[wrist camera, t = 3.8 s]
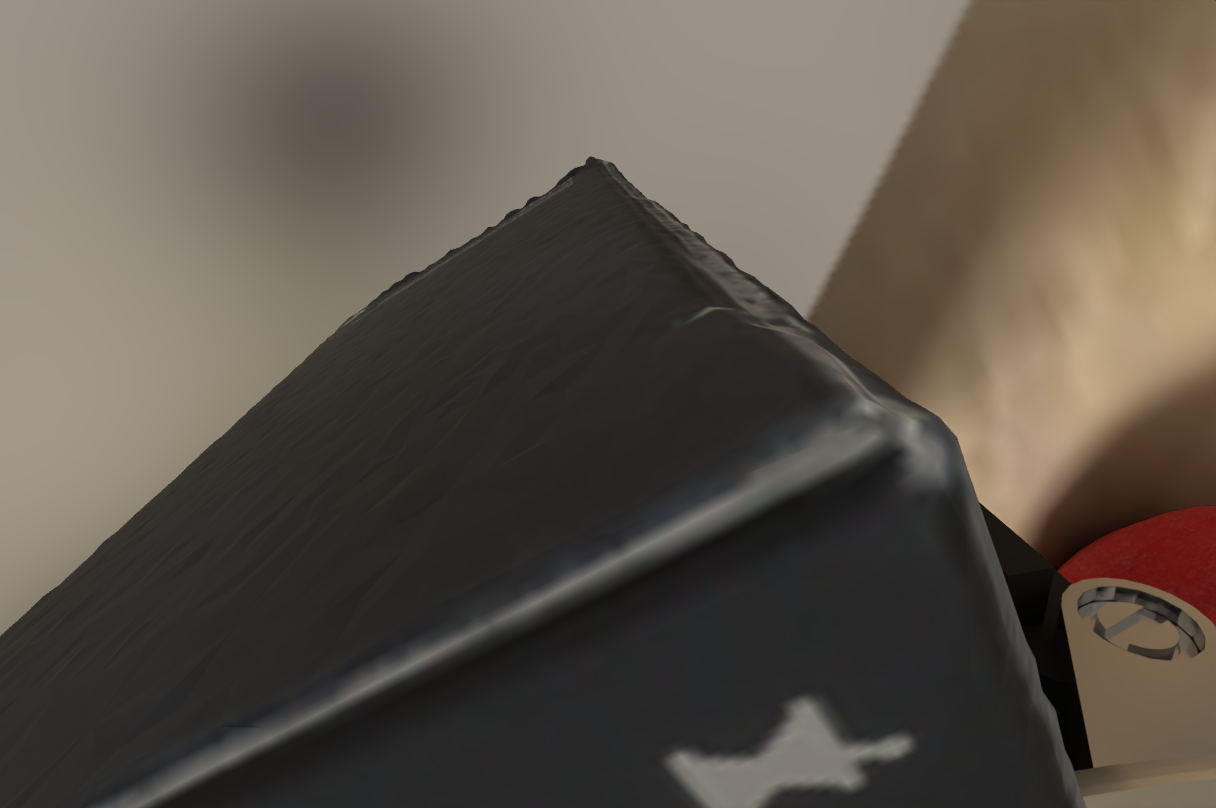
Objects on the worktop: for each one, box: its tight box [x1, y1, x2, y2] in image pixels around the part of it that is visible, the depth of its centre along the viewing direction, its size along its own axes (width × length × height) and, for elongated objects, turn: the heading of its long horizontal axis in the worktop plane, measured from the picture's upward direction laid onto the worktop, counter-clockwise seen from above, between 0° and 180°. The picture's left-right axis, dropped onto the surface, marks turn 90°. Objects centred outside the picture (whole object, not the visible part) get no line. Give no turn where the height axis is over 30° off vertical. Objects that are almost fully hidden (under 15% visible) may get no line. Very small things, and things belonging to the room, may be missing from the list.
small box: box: [0, 157, 1087, 808], centre depth 8 cm, size 11×6×10 cm, turn 30°
